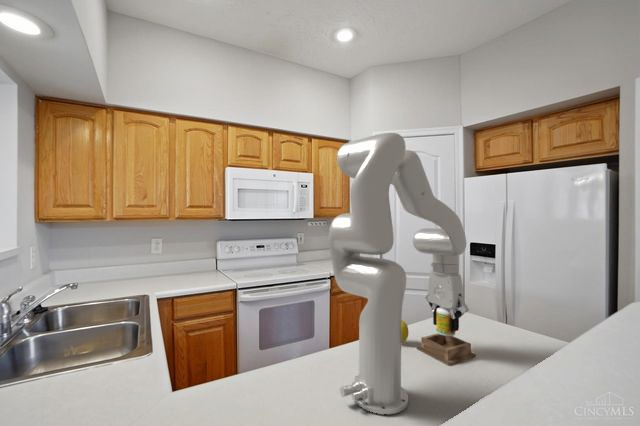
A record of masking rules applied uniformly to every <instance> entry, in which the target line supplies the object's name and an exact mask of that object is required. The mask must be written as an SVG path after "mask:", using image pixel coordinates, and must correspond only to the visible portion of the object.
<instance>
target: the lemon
mask: <svg viewBox="0 0 640 426" xmlns="http://www.w3.org/2000/svg"><path fill="white" fill-rule="evenodd" d="M408 337H409V327H408V325H407V323H406V322H405V321H404V320H403V319H401V344H402V343H403V342H405V341H406V340H408Z"/></svg>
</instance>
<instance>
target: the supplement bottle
mask: <svg viewBox="0 0 640 426" xmlns="http://www.w3.org/2000/svg"><path fill="white" fill-rule="evenodd" d="M454 311H455V309H454ZM450 318H452V317H451V313H450V309H448V308H445V307H442V306H440V307H438V308H437V311H436V325H435V326H436V334H440V335H443V336H454V337H455V335H456V331H454V332H451V331H450Z"/></svg>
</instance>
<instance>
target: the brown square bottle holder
mask: <svg viewBox="0 0 640 426" xmlns="http://www.w3.org/2000/svg"><path fill="white" fill-rule="evenodd" d="M420 341H421V342H420V343H421V345H416V350H418V351H420V352H421V353H424V354H426V355H427V356H430V357H431V358H433V359H435V360H436V361H439V362H440V363H442V364H444V365H446V366H448V367H449V366H452V365H455V364H459V363H462V362H465V361H469V360H471V359H475V358H477V354H475V353H474V352H472V343H470V342H467V341H465V340H463V339H461V338H458V337H456V336H455V335H454V336H443V335H440V334H438V333H434V334H430V335H425V336H421V340H420Z"/></svg>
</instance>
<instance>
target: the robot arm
mask: <svg viewBox="0 0 640 426" xmlns="http://www.w3.org/2000/svg"><path fill="white" fill-rule="evenodd" d="M336 162H337V163H336V164H337V165H338V167H339V169H340V171H341V172H342V173H343V174H344V175H345V176H346V177H347V176H348V177H349V178H352V179H353V181H352V184H351V187H350V196H349V197H350V198H349V199H350V207H351V212H347V213H346V212H345V213H341V214H339V215H337V216H336V217H334V218H333V220H332V221H331V223H330V225H329V228H328V229H329V230H328V246H329V250H330V251H329V252H330V257H331V264H332V269H333V275H334V280H335V282H336V285H337V286H338V288H339V289H340V290H341V291H343V292H344V293H347V294H350V295H354V296H358V297H362V298H363V299H364V298H365V299H367V302H366V304H365V305H364V307H363V309H362V310H361V312H360V315H359V319H358V321H359V322H358V327H359V328H358V329H359V333H358V375H355V376H354V381H352V383H351V384H348V385H345V386H340V388H339V393H340V395H341V397H342V398H344V397H348V396H351V399H352V400H353V401H354V402H356V403H355V404H356V405H357V406H359V407H360V408H361V407H362V409H363V410H365V411H367V412H369V411H370V413H372V412H373V413H372V414H376V413H377V414H378V415H384V414H387V415H395V414H398V413H401V412H402V411H405V409H406V408H407V407H408V405H409V394H408V392H407V391H406V389H405V388H404V387H403V386H402V343H401V320H403V319H402V315H403V314H402V312H403V303H404V298H405V292H406V288H407V287H406V286H407V275H406V274H407V272H406V271H405V269H404V267H403V266H402V265H400V263H399V262H396V261H394V260H391V259H386V258H381V257H372V256H373V255H375V256H377V255H378V256H381V255H386V254H387V253H389V252H390V251H391V250H392V249H393V245H394V228H393V227H394V226H393V220H392V212H391V203H390V186H391V185H393V187H394V190H395V191H396V194H397V195H398V198H399V200H400V203H401V205H402V208H403V209H404V211H405V212H407V213H408V214H410V215H413V216H415V217H417V218H419V219H423V220H425V221H428V222H431V223H432V224H435V225H436V226H438V227H439V228H421V229H419V230H417V231H416V232H415V233H414V235H413V237H412V245H413V248H415V250H417V251H418V252H419V253H422V254H425V255H426V254H427V255H432V262H431V264H430V266H431V268H432V270H431V271H430V274H429V278H428V285H427V286H428V287H427V294H426V296H425V299H426V301H427V302H428V305H429V306H430V308H431V312H433V313H432V315H433V316H432V317H433V318H432V319H433V321H432V322H433V325H434V326H436V311H437V308H438V307H440V306H442V307H445V308H448V309H450V313H451V317H452V318H450V331H451V332H454V331H455V332H457V331H459V328H460V318H461V317H462V316H463V315H465V314H466V313H467V312H469V310H470V308H469V307H468V305H467V304H466V302H465V301H464V287H463V280H462V276H461V274H460V256H461V255H462V254H463V253H464V252H465V251H466V248H467V237H466V234H465V230H464V226H463V224H462V221H461V219H460V217H459V215H457V213H456V212H455V211H454V210H452V209H451V208H450V207H449V205H447V204H446V203H444V202H443V201H441V200H440V199H438V198H437V197H436V196H434V193H433V190H432V187H431V185H430V182H429V180H428V177H427V174H426V171H425V168H424V166H423V164H422V161H421V159H420V156H419V155H418V153H417V152H415V151H413V150H410V149H407V148H406V141H405V139H404V137H403V136H402V135H401V134H400V133H396V132H387V133H386V132H385V133H380V134H375V135H372V136H368V137H365V138H361V139H360V138H359V139H357V140H353V141H349V142H346V143H344V144H343V145H342V146H340V148H339V149H338V152H337V155H336ZM361 254H362V255H372V256H361ZM454 310H455V311H454Z"/></svg>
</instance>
